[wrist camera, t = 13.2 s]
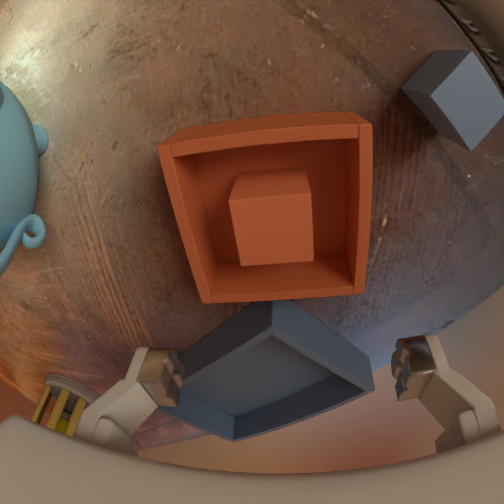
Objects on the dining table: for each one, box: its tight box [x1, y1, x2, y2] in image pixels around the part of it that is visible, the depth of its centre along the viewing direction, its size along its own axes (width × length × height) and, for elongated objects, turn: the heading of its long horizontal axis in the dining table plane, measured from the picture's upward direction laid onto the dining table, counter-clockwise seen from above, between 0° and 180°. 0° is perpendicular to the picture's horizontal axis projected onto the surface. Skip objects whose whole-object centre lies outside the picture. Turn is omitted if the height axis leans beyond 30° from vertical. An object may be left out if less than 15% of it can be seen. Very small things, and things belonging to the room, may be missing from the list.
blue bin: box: [155, 299, 375, 442], centre depth 33 cm, size 24×16×5 cm, turn 138°
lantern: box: [31, 373, 100, 437], centre depth 36 cm, size 14×14×25 cm
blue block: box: [401, 50, 504, 152], centre depth 14 cm, size 4×4×4 cm
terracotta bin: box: [157, 111, 373, 303], centre depth 20 cm, size 12×12×5 cm
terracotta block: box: [228, 167, 314, 266], centre depth 19 cm, size 4×4×4 cm
